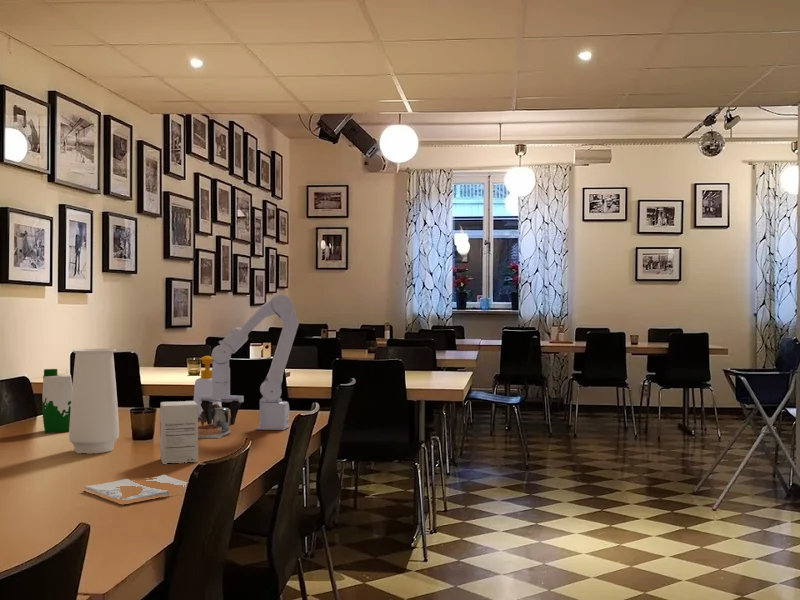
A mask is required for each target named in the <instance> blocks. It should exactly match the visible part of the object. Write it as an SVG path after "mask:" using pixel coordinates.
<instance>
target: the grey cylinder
mask: <svg viewBox="0 0 800 600" xmlns="http://www.w3.org/2000/svg"><path fill="white" fill-rule="evenodd" d="M229 417H230V407H223V408H214V409H213V419H212V425H217V426H221V427H222V429H224V430H230V426H229Z"/></svg>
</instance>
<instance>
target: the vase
mask: <svg viewBox="0 0 800 600" xmlns="http://www.w3.org/2000/svg"><path fill="white" fill-rule="evenodd" d="M116 351H117V349H116V348H82V349H81V348H80V349H73V350H72V352H73V353H74V354H75V356H74V357H75V358H74V365H73V377H72V398H71V411H70V426H69V432H68V439H69V442H70V443H72V445H73V447H74V451H75V453H76V452H78V453H77V454H81V453H87V454H86V455H89V454H91V455H93V453H94V454H103V453H108V452H111V451H113V450H114V445H115V443H116V441H117V440H118V439H119V437H120V425H119V424H120V422H119V421H120V420H119V406H118V395H117V394H118V393H117V382H116V381H117V380H116V370H115V367H116V366H115V358H114V357H115V356H114V353H115V352H116Z"/></svg>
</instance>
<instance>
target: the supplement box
mask: <svg viewBox="0 0 800 600" xmlns="http://www.w3.org/2000/svg"><path fill="white" fill-rule="evenodd" d="M159 405H160V406H159V407H160V408H159V409H160V410H159V412H160V413H159V414H160V415H159V417H160V419H159V422H160V424H159V425H160V426H159V427H160V428H159V429H160V430H159V431H160V434H159V435H160V437H159V439H160V441H159V443H160V452H159V453H160V456H159V457H160V460H161V463H162V465H163V464H165V463H179V464H188V463H187V462H194V463H198V462H199V438H198V426H199V418H198V405H197V404H196V402H194V400H185V401H183V400H182V401H181V400H180V401H160V404H159ZM184 462H185V463H184ZM165 465H166V464H165Z"/></svg>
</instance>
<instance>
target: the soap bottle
mask: <svg viewBox="0 0 800 600" xmlns="http://www.w3.org/2000/svg"><path fill="white" fill-rule="evenodd" d="M199 360H200V361H201V363H202V364H204V369H203V370H200V377H198V378H197V379H196V380H195V381H194V391H193V401H194V402H196V404H197V405H198V419H201V417H200V414H201V412H202V411H203V409H202V407H201V403H202V402H198V396H200V395H212V369H210V364H211V365H212V363H213V361H214V360H213V358H212V355H211V356H210V355H204V356H202V357H201V358H199ZM215 400H222V399H215ZM214 404H219V406H220V407H223V406H222V402H213V405H214Z"/></svg>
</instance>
